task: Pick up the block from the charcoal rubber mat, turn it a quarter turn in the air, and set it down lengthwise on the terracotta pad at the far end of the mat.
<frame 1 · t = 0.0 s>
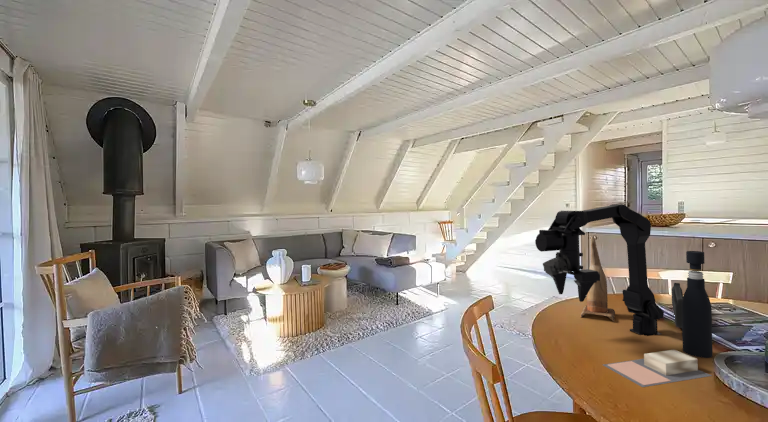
hand: (570, 297, 111), 15 cm above the table, tool pointing down, fingers open, 9 cm apart
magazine: (679, 319, 129), on the table
bird sculpture: (598, 316, 135), on the table
block: (670, 367, 92), point 1 cm above the table, touching mat
mat: (654, 372, 91), on the table
black bottle: (697, 355, 100), on the table
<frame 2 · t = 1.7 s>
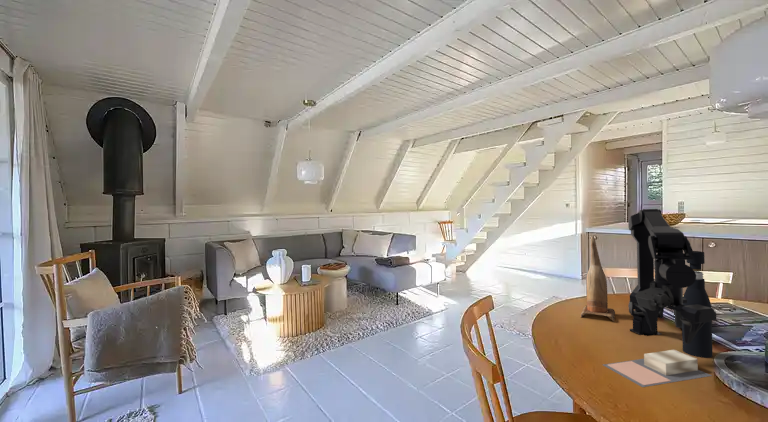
hand: (669, 336, 92), 9 cm above the table, tool pointing down, fingers open, 9 cm apart
nothing on the table moved.
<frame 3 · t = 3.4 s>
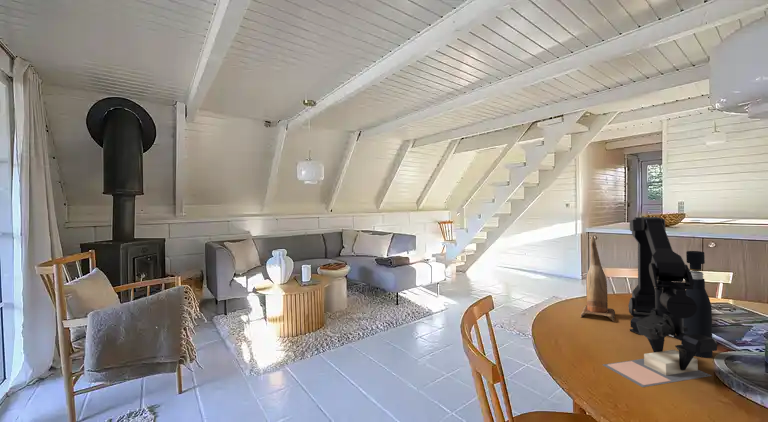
hand: (670, 364, 92), 1 cm above the table, tool pointing down, fingers closed on block, 6 cm apart
block: (670, 367, 92), point 1 cm above the table, touching gripper, mat
everything else where it was.
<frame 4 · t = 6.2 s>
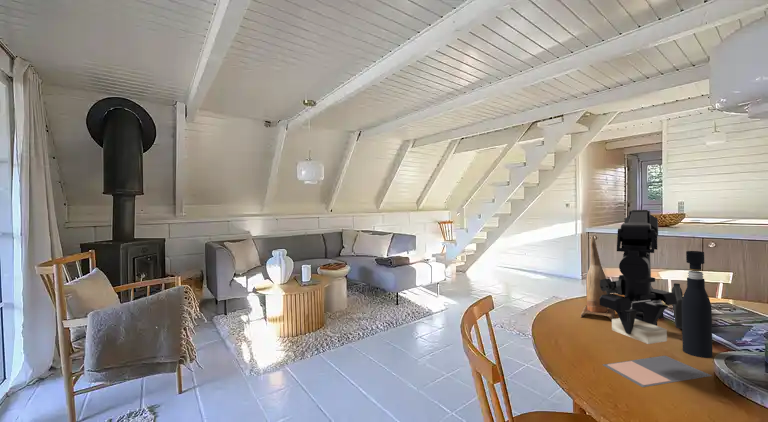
hand: (638, 332, 90), 11 cm above the table, tool pointing down, fingers closed on block, 6 cm apart
block: (638, 335, 90), point 10 cm above the table, touching gripper
everything else where it was.
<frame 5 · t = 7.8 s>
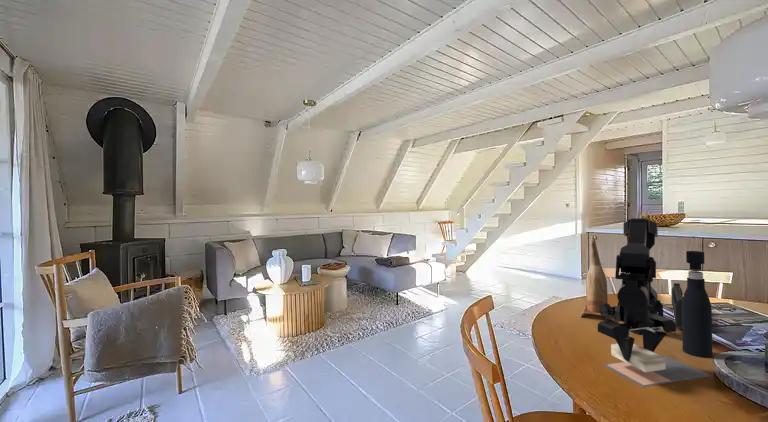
hand: (637, 358, 90), 4 cm above the table, tool pointing down, fingers closed on block, 6 cm apart
block: (637, 361, 90), point 3 cm above the table, touching gripper
everything else where it was.
when the fingers open (3 cm above the table, at t = 9.1 s): block drops 1 cm, resting on mat.
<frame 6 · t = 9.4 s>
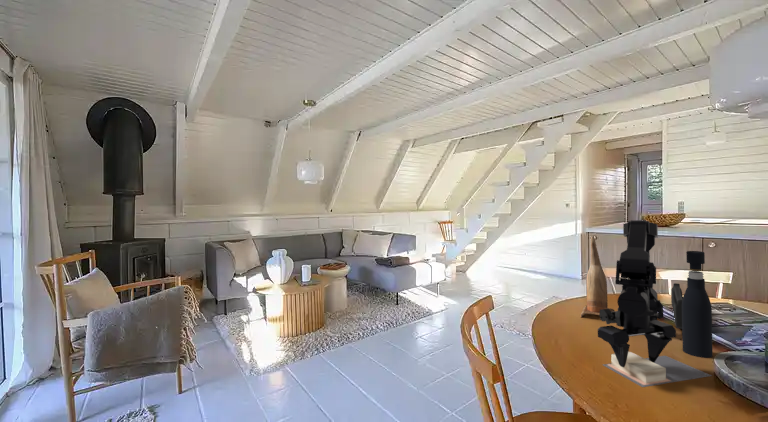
hand: (637, 364, 90), 3 cm above the table, tool pointing down, fingers open, 9 cm apart
block: (637, 372, 90), point 1 cm above the table, touching mat
everything else where it was.
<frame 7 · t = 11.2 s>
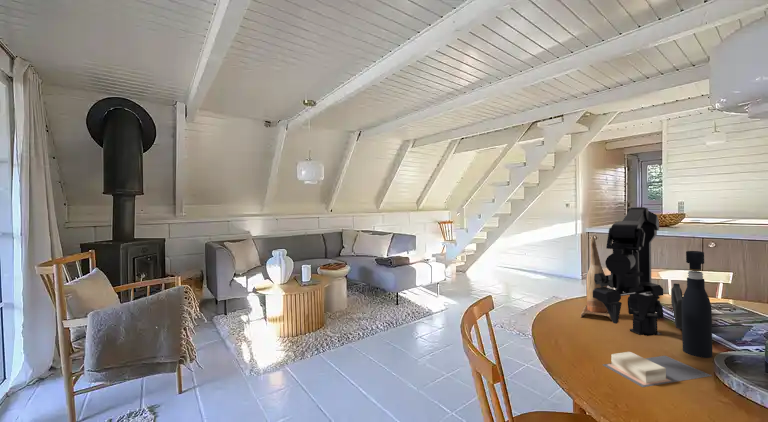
hand: (628, 321, 99), 11 cm above the table, tool pointing down, fingers open, 9 cm apart
nothing on the table moved.
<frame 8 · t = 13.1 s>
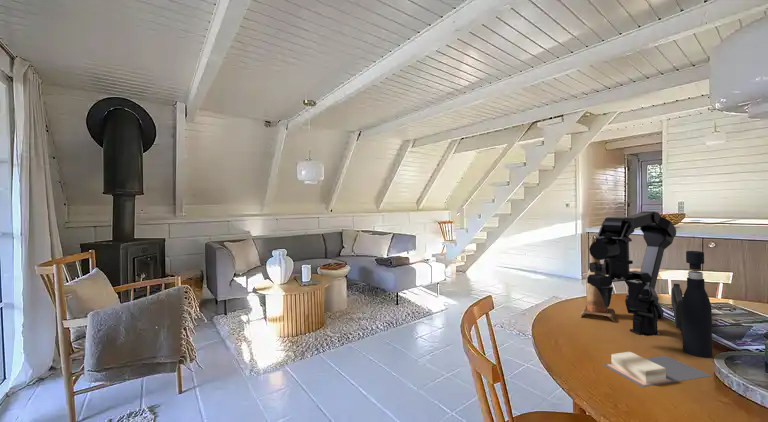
hand: (619, 305, 110), 12 cm above the table, tool pointing down, fingers open, 9 cm apart
at the end: block 0.1 cm from the target spot on the mat, point 0.7 cm above the mat's base; block tilted 0°; the gripper is holding nothing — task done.
